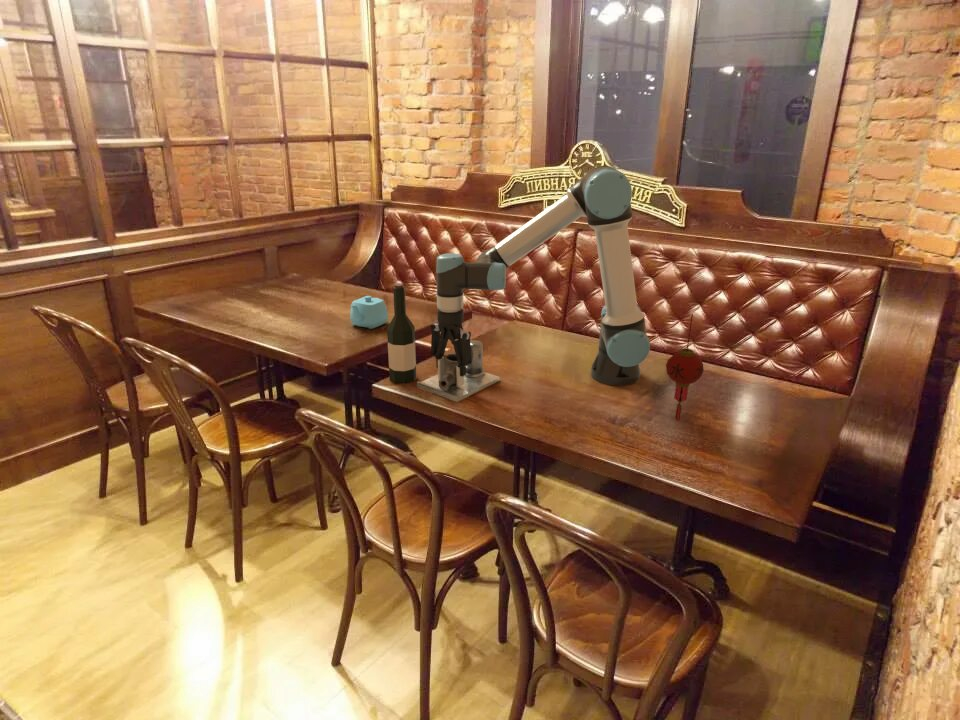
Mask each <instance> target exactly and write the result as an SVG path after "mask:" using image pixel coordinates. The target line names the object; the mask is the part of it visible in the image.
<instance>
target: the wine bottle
mask: <svg viewBox="0 0 960 720" xmlns="http://www.w3.org/2000/svg"><path fill="white" fill-rule="evenodd" d="M392 289H393V290H392V291H393V292H392V293H393V309H394V315H393V318H392V319H391V321H390V322H389V325H388V327H387V328H386V334H387V335H386V337H387V353H388V355H387V356H388V371H389V373H388V374H389V376H388V377H389V381H390V382H393V383H394V384H401V385H405V384H410V383H413V382H415V380H416V379H417V360H416V359H417V358H416V357H417V355H416V333H415V332H416V330H415V325H414V324H413V323H412V321H411V320H410V318H409V316H408V315H407V309H406V308H407V306H406V305H407V304H406V287H405V286H404V284H403V283H396V284H394V286H393V288H392Z"/></svg>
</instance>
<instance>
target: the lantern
mask: <svg viewBox="0 0 960 720" xmlns="http://www.w3.org/2000/svg"><path fill="white" fill-rule="evenodd" d="M693 315H694V314H693V313H691V317H690V325H689V329H688V331H689V332H688V338H687V346H686V348H681V349H680V351H679V352H677V353H674V354H673V355H672V356H671V357H669V358H668V359H667V362H666V364H665V366H666V367H665V368H666V373H667V375H668V377H669V378H670V379H671V380H672V381H673V382H675V388H674V397H673V399H674V400H675V401H677V404H676V409H675V417H674V420H675V419H676V420H675V421H680V419H681V414H682V413H681V412H682V407H683V406H682V404H681V403H683V402H685V401H687V399H688V392H689V391H688V390H689V386H690V384H693V383H694V384H695V383H696V382H697V381H698V380H700V378H702V375H703V373H704V371H705V370H704V363H703V360H701V358H700V356H699V355H698V356H697V355H696V354H695V351H694V350H693V349H690V348H689V345H690V339H691V338H690V336H691V331H692V329H691V328H692V322H693Z"/></svg>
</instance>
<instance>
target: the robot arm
mask: <svg viewBox="0 0 960 720" xmlns="http://www.w3.org/2000/svg"><path fill="white" fill-rule="evenodd" d="M632 198H633V189H632V185H631V182H630V181H629V179H628V177H627V176H626V175H625V173H623V172H622V171H620V170H618V169H616V168H614V167H613V166H610V165H599V166H595V167H593V168H592V169H590V170H589V171H588V172H586V173H585V175H583V176H582V177H581V178H580V179H578V181H576V182H575V183H573V184H572V185H571V186H570V187H568V188H567V191H566V194H565V195H564V196H562V197H560V198H559V199H558V200H557V201H555V202H554V203H552V204H551V205H550V206H548V207H547V208H545V209H543V211H541V212H540V213H538V214H537V215H535V216H534V217H533V218H531V219H530V220H528V221H527V222H525V223H524V224H523V225H521V226H520V227H519V228H517V229H516V230H514V231H513V232H512V233H510V234H509V235H508V236H506V237H505V238H503V239H502V240H500V241H499V242H498V243H496V244H495V245H494V246H492V247H491V248H489V249H488V250H484V251H482V252H481V253H480V254H479V255H478V257H477V258H476V261H475V262H467V261H465V260H464V256H463V255H462V254H460V253H451V252H450V253H449V252H448V253H442V254H440V255H438V256H437V258H436V269H435V270H436V271H435V274H436V275H435V276H436V278H435V279H436V307H437V310H436V313H437V314H436V315H437V316H436V319H437V322H435V323H433V324H431V325H430V329H431V342H430V343H431V344H430V355H431V356H432V357H435V361H436V362H435V363H436V364H435V365H436V369H437V375H438V380H439V379H440V378H442V377H443V376H444V356H445V355H446V354H445V352H446V348H447V347H448V346H447V345H448V341H450V343H451V345H453V349H454V353H456V357H457V361H458V364H459V365H458V366H456V370H457V387H460V386H462V385H464V376H465V375H466V366H467V365H469V364H471V363H472V358H471V346H470V340H471V336H472V332H471V331H466V330H464V328H463V323H464V309H463V308H464V290H475V291H476V290H479V291H480V290H481V291H482V290H483V291H502V290H504V289H505V288H506V283H507V281H506V280H507V269H508V268H509V267H511V266H512V265H513V264H515V263H516V262H518V261H519V260H520V259H522V258H524V257H525V256H526V255H528V254H529V253H530V252H532V251H533V250H535V249H537V248H538V247H539V246H541V245H542V244H543V243H545V242H546V241H549V239H552V237H553V236H555V235H556V234H558V233H559V232H561V231H562V230H564V229H565V228H566V227H568V226H570V225H571V224H573V223H574V222H575V221H576V220H578V219H580V218H581V217H583V218H586V219H587V225H588V226H589V227H590V228H591V229H592V230H594V233H595V240H596V248H597V249H596V250H597V258H598V261H599V262H598V263H599V270H600V271H599V272H600V278H601V284H602V290H603V299H604V303H605V305H604V306H603V307H602V308H601V314H600V316H601V319H600V325H599V326H600V329H599V339H598V351H597V354H596V356H595V359H594V361H593V363H592V365H591V368H590V376H591V377H592V379H594V380H596V381H598V382H600V383H602V384H606V385H611V386H628V385H633V384H636V383H638V381H640V379H641V368H640V365H639V364H641V363H643V362H644V361H645V360H646V358H647V357H648V355H649V354H650V349H651V342H650V338H649V337H648V334H647V329H646V328H647V327H646V320H645V314H644V312H642V309H641V307H639V306H638V302H637V292H636V285H635V277H634V267H633V259H632V254H631V253H632V252H631V244H630V242H631V241H630V235H629V226H628V224H629V223H630V221H631V220H632V219H633V212H632V211H633V209H632V204H631V203H632V202H631V201H632ZM462 361H463V362H462Z"/></svg>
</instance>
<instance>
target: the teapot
mask: <svg viewBox="0 0 960 720" xmlns="http://www.w3.org/2000/svg"><path fill="white" fill-rule="evenodd" d="M349 307H350V313H349V316H350V323H351V324H352V325H355V326H357V327H359V328H360V327H363V328H368V329H369V330H372V329H375V328H377V327H380V326H382V325H384V324H386V323H388V320H389V319H388V318H389V314H388V307H387V305H386V301H385V300H384V299H381V298H379V297H372V295H366V296H363V297H361V298H358V299H355V300H353V301H352V302H351V304H350V305H349Z"/></svg>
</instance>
